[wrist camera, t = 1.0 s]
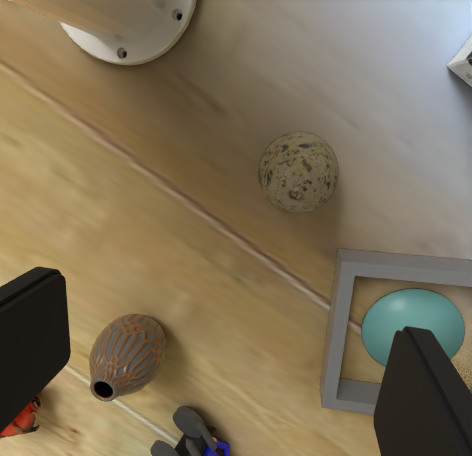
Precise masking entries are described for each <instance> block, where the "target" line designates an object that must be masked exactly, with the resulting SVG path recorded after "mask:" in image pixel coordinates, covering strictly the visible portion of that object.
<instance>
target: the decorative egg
mask: <svg viewBox="0 0 472 456" xmlns="http://www.w3.org/2000/svg"><path fill="white" fill-rule="evenodd" d="M338 173H339V170H338V162H337V159H336V156H335V154H334V152H333V150H332V148H331V147H330V146H329V145H328V144H327V143H326V142H325V141H324V140H323V139H321V138H320V137H318V136H316V135H314V134H311V133H307V132H293V133H288V134H285V135H283V136H281V137H279V138H277V139H276V140H275V141H273V142H272V143H271V144H270V145H269V146H268V148H267V149H266V150H265V152H264V154H263V156H262V158H261V160H260V164H259V171H258V177H259V183H260V187H261V189H262V192H263V193H264V195H265V197H266V198H267V199H268V201H269V202H270V203H271V204H273V205H274V206H275V207H277V208H278V209H280V210H282V211H285V212H288V213H294V214H301V213H307V212H310V211H313V210H315V209H317V208H319V207H320V206H322V205H323V204H324V203H325V202H326V201H327V200H328V199H329V198H330V196H331V195H332V193H333V192H334V190H335V187H336V184H337V181H338Z"/></svg>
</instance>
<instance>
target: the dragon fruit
mask: <svg viewBox="0 0 472 456" xmlns="http://www.w3.org/2000/svg"><path fill="white" fill-rule="evenodd" d="M39 398H40V397H39V396H38V395H37V396H36V397H35V398H34V399H35V400H34V399H33V400H32V401H31V402H30V403H29V404H28V405H27V406H26V407H25V408H24V410H23V411H22V412H21V413H20V414H19V415H18V416H17V417H16V418H15V419H14V420H13V421H12V422H11V423H10V424H9V425H8V426H7V427H6V428H5V429H4V431H3V432H2V433H1V434H0V438H4V437H7V436H14V435H17V434H25V433H29V432H30V433H31V432H33V431H34V432H35V431H36V430H37V429H38V428H39V426H40V425H38V426H36V427H33V426H34V422H35V419H36V418H35V415H34V414H32V412H36V413H37V412H39V411H40V409H41V403H40V401H39ZM35 401H36V403H37V405H38V408H36V407H35V405H34V404H33V402H35Z"/></svg>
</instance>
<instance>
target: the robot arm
mask: <svg viewBox="0 0 472 456" xmlns="http://www.w3.org/2000/svg"><path fill="white" fill-rule="evenodd" d="M8 1H10V2H13V3H15V4H18V5H20V6H23V7H25V8H27V9H30V10H32V11H35V12H37V13H40V14H42V15H45V16H47V17H50V18H52V19H55V20H57V21H59V23H60V25H61V26H62V28H63V29H64V30H65V32H66V33H67V34H68V36H69V37H70V38H71V39H72V40H73V41H74V42H75V43H76V44H77V45H78V46H79V47H80V48H81V49H83V50H84V51H86V52H87V53H89V54H90V55H92V56H94V57H96V58H98V59H101V60H103V61H106V62H109V63H113V64H117V65H130V66H131V65H138V64H144V63H147V62H149V61H152V60H154V59H157V58H158V57H160V56H161V55H163V54H164V53H166V52H167V51H169V50H170V49H171V48H172V46H173V45H174V44H175V43H176V42H177V41H178V40H179V39H180V37H181V36H182V34H183V33H184V31H185V30H186V28H187V27H188V24H189V22H190V20H191V17H192V15H193V13H194V9H195V5H196V1H197V0H8ZM179 15H182V19H181V20H180V21H178V16H179ZM126 52H127V57H126V58H125V56H124V55H125V53H126ZM70 353H71V350H70V336H69V323H68V309H67V295H66V281H65V278H64V276H62V275H61V273H60V271H59V270H57V269H51V268H44V267H36V268H33V269H32V270H30V271H28V272H26V273H24V274H23V275H21V276H19V277H17V278H15V279H14V280H12V281H10V282H8V283H7V284H5V285H3V286H1V287H0V434H1V433H2V432H3V431H4V429H5V428H6V427H7V426H8V425H9V424H10V423H11V422H12V421H13V420H14V419H15V418H16V417H17V416H18V415H19V414H20V413H21V412H22V411H23V410H24V408H25V407H26V406H27V405H28V404H29V403H30V402H31V401H32V400H33V399H34V398H35V397H36V396H37V395H38V394H39V393H40V392H41V391H42V390H43V388H44V387H45V386H46V385H47V384H48V383H49V382H50V381H51V380H52V379H53V378H54V377H55V376H56V375H57V374H58V373H59V372H60V371H61V370H62V369H63V367H64V366H65V365H66V364H67V362H68V361H69V358H70ZM374 428H375V432H376V436H377V440H378V444H379V448H380V452H381V456H472V393H471V392H470V391H469V389H468V387H467V386H466V384H465V383H464V381H463V380H462V378H461V376H460V375H459V373H458V372H457V370H456V369H455V367H454V365H453V364H452V362H451V361H450V359H449V358H448V356H447V354H446V353H445V351H444V350H443V348H442V347H441V345H440V343H439V342H438V340H437V339H436V337H435V336H434V334H433V332H432V331H431V330H428V329H423V328H416V327H410V326H405V327H404V328H403V330H402V331H400V330H397V331H396V332H395V335H394V338H393V342H392V346H391V349H390V353H389V357H388V361H387V365H386V369H385V372H384V376H383V380H382V384H381V388H380V391H379V395H378V399H377V403H376V407H375V411H374Z"/></svg>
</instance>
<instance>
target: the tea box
mask: <svg viewBox="0 0 472 456" xmlns="http://www.w3.org/2000/svg"><path fill="white" fill-rule="evenodd" d="M447 66H448V68H449V69H451V70H452V71H453V72H454V73H455V74H457V75H458V76H459V77H460V78H462V79H463V80H464V81H465V82H466V83H468V84H469V85H470V86H471V87H472V35H471V37H470V38H469V39H468V40H467V41H466V43H465V44H464V45H463V46H462V48H461V49H460V50H459V51H458V53H457V54H456V55H455V56H454V57H453V59H452V60H451V61H450V62H449V63H448V64H447Z"/></svg>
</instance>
